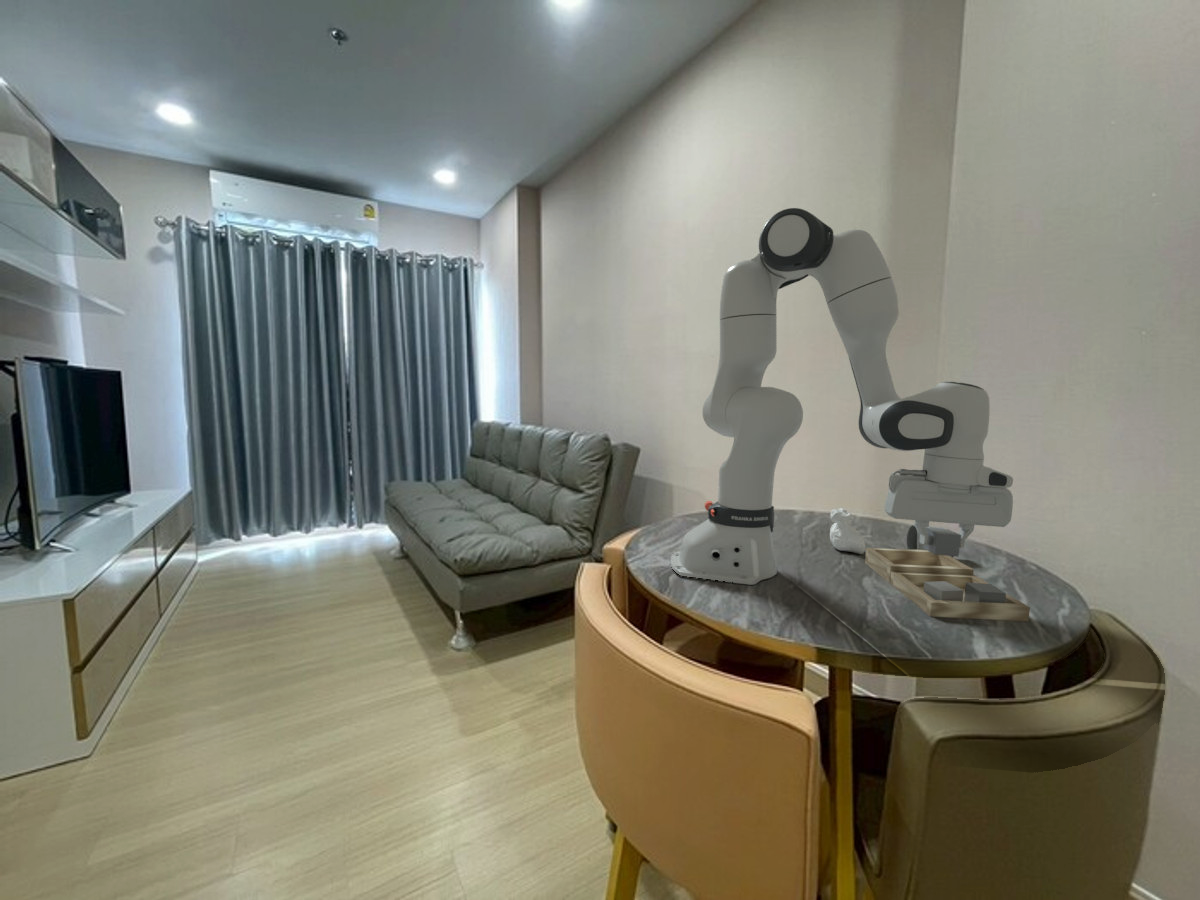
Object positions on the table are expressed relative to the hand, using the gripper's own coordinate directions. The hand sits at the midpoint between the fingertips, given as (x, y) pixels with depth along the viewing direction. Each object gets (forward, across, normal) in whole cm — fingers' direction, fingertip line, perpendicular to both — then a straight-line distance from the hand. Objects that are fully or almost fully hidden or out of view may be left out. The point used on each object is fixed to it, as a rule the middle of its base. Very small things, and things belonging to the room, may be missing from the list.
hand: (941, 545), depth 90 cm
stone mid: (+1, 0, 0) cm, 1 cm away
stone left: (+9, -2, -7) cm, 12 cm away
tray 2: (+10, +2, -3) cm, 10 cm away
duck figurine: (+10, -7, +26) cm, 29 cm away
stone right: (+9, +4, -6) cm, 12 cm away
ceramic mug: (+9, +10, +24) cm, 28 cm away
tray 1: (+10, +1, +10) cm, 14 cm away
